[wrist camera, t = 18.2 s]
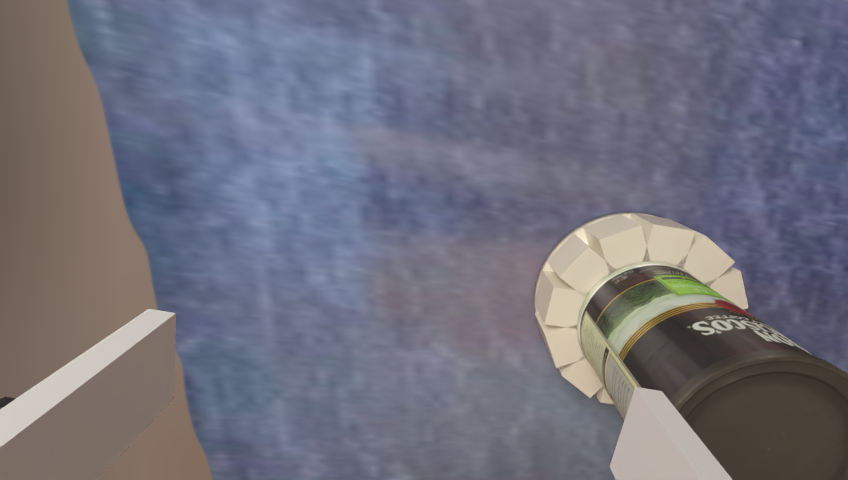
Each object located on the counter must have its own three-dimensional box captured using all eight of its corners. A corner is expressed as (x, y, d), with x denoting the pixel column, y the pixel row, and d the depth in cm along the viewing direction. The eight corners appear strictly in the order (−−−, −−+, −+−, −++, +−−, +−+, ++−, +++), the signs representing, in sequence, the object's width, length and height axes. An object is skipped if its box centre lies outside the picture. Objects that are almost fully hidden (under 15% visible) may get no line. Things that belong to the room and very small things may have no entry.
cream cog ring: (556, 198, 38) (572, 211, 34) (733, 227, 39) (775, 244, 34) (517, 359, 42) (527, 390, 38) (678, 384, 43) (709, 419, 38)
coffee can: (605, 243, 34) (716, 329, 21) (735, 283, 35) (926, 393, 21) (554, 362, 37) (622, 509, 23) (675, 398, 37) (810, 561, 24)
